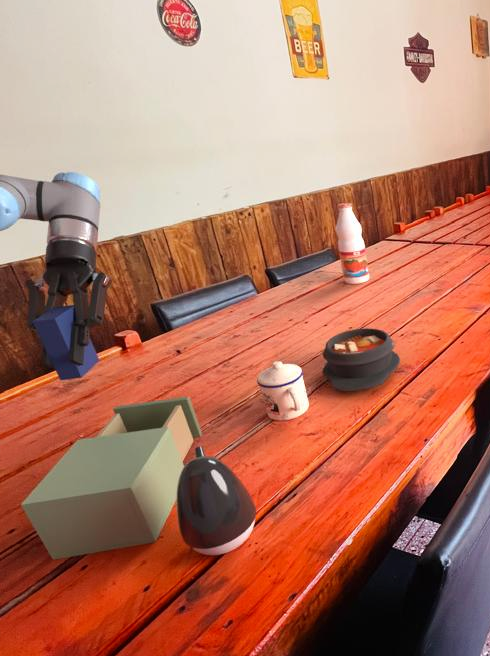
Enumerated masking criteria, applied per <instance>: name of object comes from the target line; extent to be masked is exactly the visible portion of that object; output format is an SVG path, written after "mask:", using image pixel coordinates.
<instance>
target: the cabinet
mask: <svg viewBox="0 0 490 656" xmlns="http://www.w3.org/2000/svg"><path fill="white" fill-rule="evenodd" d="M184 466H185V465H184V461H183V462H182V460H181V457H180V454H179V452H178V449H177V447H176V444H175V442H174V439H173V436H172V434H171V431H170V428H169V427H164V428H157V429H150V430H143V431H135V432H128V433H121V434H114V435H107V436H100V437H96V436H94V437H87V438H80V439H77V440H76V441H75V442H74V443H73V444H72V445H71V446H70V448H69V449H68V450H67V451H66V452H65V453H64V454H63V456H62V457H61V458H60V459H58V461H57V463H55V465H53V467H52V468H51V469H50V470H49V472H48V473H47V474H46V475H45V476H44V477H43V478H42V480H41V481H39V483H38V484H37V485H36V486H35V488H34V489H33V490H32V491H31V492H30V493H29V495H28V496H27V497H26V498H25V499H24V500H23V501H22V503H21V504H20V506H21V508H22V511H24V513H25V515H26V517H27V518H28V520H29V521H30V523H31V525H32V527H33V529H34V530H35V532H36V533H37V536H38V537H39V539H40V540H41V542H42V544H43V545H44V547H45V549H46V550H47V552H48V554H49V555H50V558H51V559H52V560H60V559H64V558H65V559H67V558H71V557H77V556H82V555H88V554H95V553H100V552H101V553H102V552H106V551H112V550H118V549H125V548H129V547H135V546H142V545H146V544H152V543H156V542H157V540H158V538H159V536H160V534H161V532H162V530H163V528H164V526H165V524H166V522H167V520H168V519H169V516H170V514H171V512H172V510H173V507H174V506H175V504H176V503H177V485H178V480H179V477H180V474H181V471H182V469H183V468H184Z"/></svg>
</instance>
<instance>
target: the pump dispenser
mask: <svg viewBox="0 0 490 656" xmlns="http://www.w3.org/2000/svg"><path fill="white" fill-rule="evenodd" d="M194 457H195V458H192V459H191V460H189V461H188V462H186V464H185V465H184V468H183V469H182V471H181V474H180V477H179V480H178V485H177V500H176V516H177V523H178V528H179V532H180V536H181V539H182V541H183V543H184V544H185V545H187V546H189V547H190V548H191V549H193V550H194V551H195V552H197V553H198V554H202V555H204V556H205V555H206V556H220V555H224V554H227V553H230V552H232V551H233V550H235V549H237V548H239V547H240V546H241V545H243V544H244V543H245V542H246V541H247V539H248V538H249V537H250V535H251V533H252V532H253V529H254V527H255V522H256V517H257V507H256V505H255V501H254V498H253V497H252V496H251V494H250V492H249V490H248V489H247V488H246V485H245V484H244V483H243V481H242V480H241V479H240V478H239V476H238V475H237V474H236V473H235V472H234V471H233V469H232V468H231V467H229V466H228V465H227V464H226V463H224V462H223V461H221V460H220V459H218V458H217V457H214V456H210V455H205V451H204V447H203V446H200V445H198V446H196V447H195V448H194Z"/></svg>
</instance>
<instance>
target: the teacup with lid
mask: <svg viewBox="0 0 490 656" xmlns="http://www.w3.org/2000/svg"><path fill="white" fill-rule="evenodd" d="M303 375H304V372H303V369H302V367H300V366H299V365H297V364H294V363H283V362H282V361H280V360H276V361H273V362H272V364H271V366H270V367H267V368H265V369H264V370H262V371H261V372H260V373H259V374H258V375H257V379H256V383H257V385H258V386H259V389H260V393H261V396H262V400H263V403H264V407H265V410H266V414H267V417H269V418H270V419H272V420H274V421H289V420H294V419H296V418H298V417H300V416H302V415H303V414H305V413H306V412H307V410H308V409H309V408H310V407H309V406H310V402H309V397H308V394H307V390H306V386H305V382H304V378H303V377H304V376H303Z"/></svg>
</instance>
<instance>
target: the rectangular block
mask: <svg viewBox="0 0 490 656" xmlns="http://www.w3.org/2000/svg"><path fill="white" fill-rule="evenodd" d="M32 322H33V324H34V326H35V328H36V330H37V331H36V332H37V334H38V337H39V340H40V339H41V341H42V343H43V345H44V347H45V349H46V351H47V353H48V355H49V357H50V359H51V361H52V364H53V366H54V368H55V369H54V370H55V372H56V375H57V376H58V378H59V380H60V381H65V380H73V379H82V378H83V377H84V376H85V375H86V374H88V373H89V371H91V369H93V367H95V366H96V365H97V364H98V362H100V358H99V356H98V354H97V351H96V349H95V347H94V344H93V342H92V339H90V342H89V345H88V346H84V361H83V365H80V366H78V365H76V364H74V363H72V362H70V361H69V352H70V339H71V327H73V326H77V327H78V325H77V324H75V323H74V322H76V316H75V309H74V304H71V305H70V304H69V305H63V306H60V307H54V308H52V309H51V310H49V311H48V312H46V313H45V314H43V315H41V316H40V317H38V318H37V319H35V320H34V321H32Z"/></svg>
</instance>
